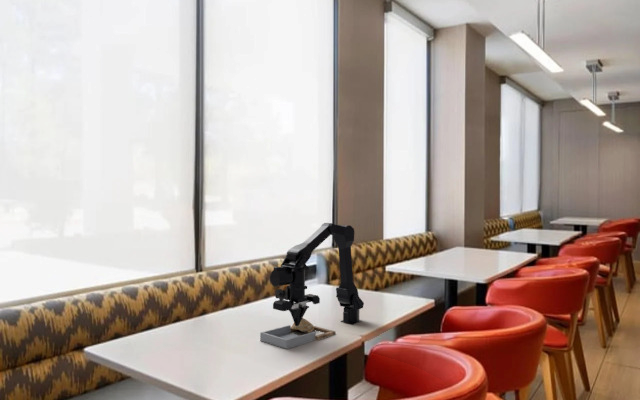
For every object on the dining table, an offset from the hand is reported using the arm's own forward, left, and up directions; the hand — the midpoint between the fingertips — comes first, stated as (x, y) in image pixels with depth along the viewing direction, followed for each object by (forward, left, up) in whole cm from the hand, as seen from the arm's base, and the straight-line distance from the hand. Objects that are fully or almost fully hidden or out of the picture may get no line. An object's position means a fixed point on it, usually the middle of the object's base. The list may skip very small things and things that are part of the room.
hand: (296, 325), depth 179 cm
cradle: (-7, 0, -4) cm, 8 cm away
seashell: (-7, 0, -5) cm, 8 cm away
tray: (+4, 0, -4) cm, 6 cm away
